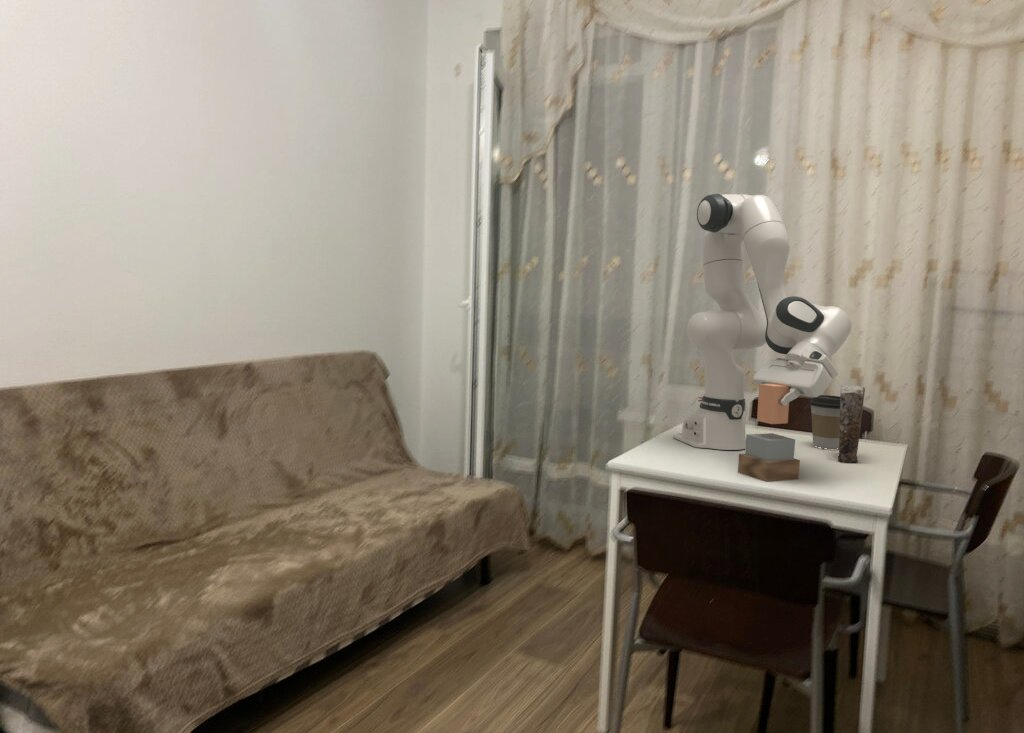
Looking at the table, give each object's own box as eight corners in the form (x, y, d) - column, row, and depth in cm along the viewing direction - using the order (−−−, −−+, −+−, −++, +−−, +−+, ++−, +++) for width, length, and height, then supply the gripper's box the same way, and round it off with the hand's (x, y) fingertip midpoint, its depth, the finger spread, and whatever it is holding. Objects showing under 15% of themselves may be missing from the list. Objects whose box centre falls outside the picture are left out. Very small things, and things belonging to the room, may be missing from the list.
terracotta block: (756, 420, 193) (759, 384, 192) (772, 420, 195) (775, 383, 194) (771, 424, 188) (774, 386, 187) (787, 423, 190) (790, 386, 190)
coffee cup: (856, 450, 231) (860, 399, 229) (825, 452, 226) (829, 400, 225) (827, 443, 241) (831, 394, 240) (797, 444, 237) (801, 394, 235)
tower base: (737, 473, 196) (739, 453, 195) (768, 471, 200) (769, 451, 200) (767, 483, 187) (768, 462, 186) (798, 480, 191) (800, 460, 191)
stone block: (832, 453, 225) (837, 383, 224) (858, 455, 223) (864, 385, 221) (835, 462, 213) (841, 388, 211) (863, 464, 211) (870, 390, 209)
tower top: (745, 454, 195) (746, 434, 194) (770, 452, 198) (772, 433, 197) (767, 461, 187) (768, 440, 187) (793, 459, 191) (795, 439, 190)
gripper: (768, 349, 202) (735, 387, 199) (831, 355, 184) (796, 398, 181) (780, 366, 205) (748, 405, 201) (843, 374, 186) (809, 417, 183)
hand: (771, 402), depth 191 cm, fingers closed on terracotta block, 5 cm apart
